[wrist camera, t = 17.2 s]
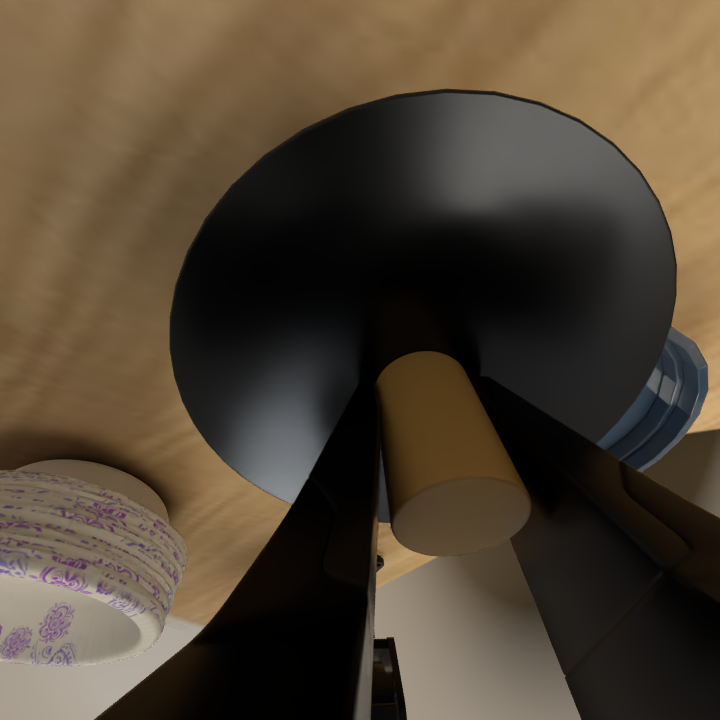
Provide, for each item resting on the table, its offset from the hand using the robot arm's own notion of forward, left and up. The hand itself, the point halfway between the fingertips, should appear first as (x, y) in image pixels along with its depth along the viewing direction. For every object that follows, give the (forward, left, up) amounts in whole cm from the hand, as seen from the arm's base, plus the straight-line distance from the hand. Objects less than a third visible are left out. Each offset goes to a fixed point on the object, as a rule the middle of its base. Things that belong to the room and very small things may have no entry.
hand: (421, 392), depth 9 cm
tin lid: (0, 0, -1) cm, 1 cm away
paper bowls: (-25, +10, -10) cm, 29 cm away
